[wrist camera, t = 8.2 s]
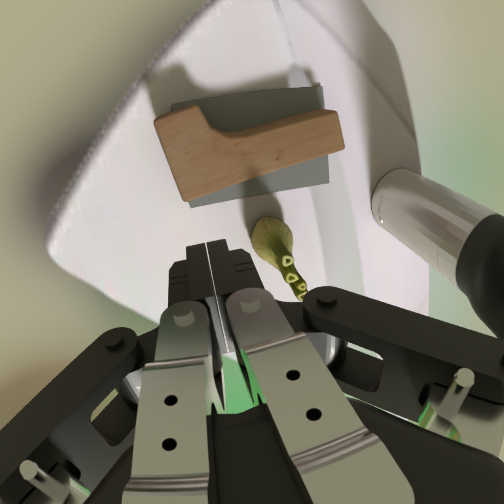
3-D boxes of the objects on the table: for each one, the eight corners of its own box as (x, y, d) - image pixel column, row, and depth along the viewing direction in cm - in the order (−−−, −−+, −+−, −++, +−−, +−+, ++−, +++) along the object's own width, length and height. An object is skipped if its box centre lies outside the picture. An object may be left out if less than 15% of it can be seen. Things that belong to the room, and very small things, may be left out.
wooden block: (151, 120, 27) (328, 69, 28) (155, 117, 31) (311, 71, 32) (183, 204, 32) (346, 149, 33) (183, 191, 36) (329, 143, 37)
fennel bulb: (249, 210, 39) (277, 256, 28) (288, 209, 40) (328, 253, 30) (247, 253, 42) (272, 310, 31) (284, 252, 43) (319, 305, 32)
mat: (320, 86, 34) (322, 86, 33) (327, 182, 39) (329, 183, 39) (171, 104, 31) (171, 104, 31) (190, 207, 37) (190, 208, 37)
